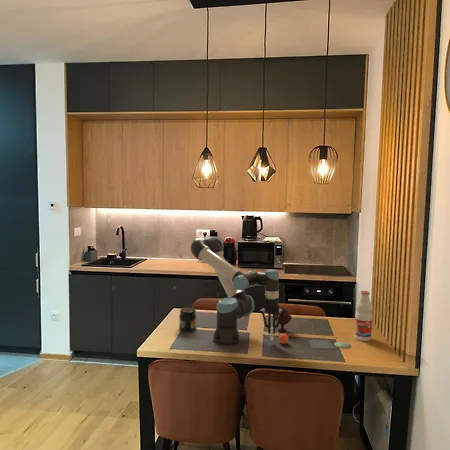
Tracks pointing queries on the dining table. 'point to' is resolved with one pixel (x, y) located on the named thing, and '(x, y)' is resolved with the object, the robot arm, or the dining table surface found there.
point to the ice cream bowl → (283, 319)
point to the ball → (283, 338)
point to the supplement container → (187, 319)
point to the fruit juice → (363, 318)
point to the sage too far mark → (342, 344)
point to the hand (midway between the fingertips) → (271, 339)
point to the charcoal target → (321, 344)
